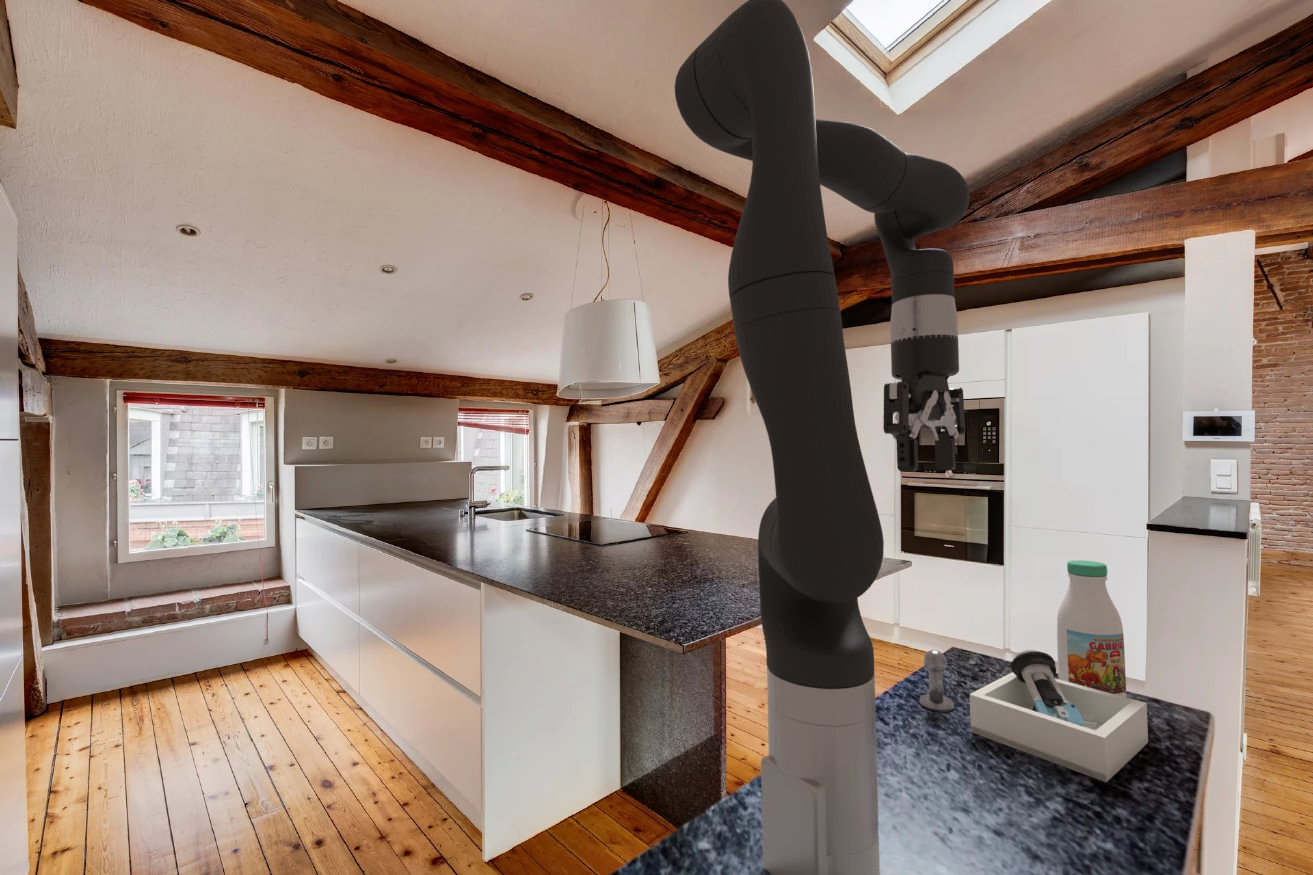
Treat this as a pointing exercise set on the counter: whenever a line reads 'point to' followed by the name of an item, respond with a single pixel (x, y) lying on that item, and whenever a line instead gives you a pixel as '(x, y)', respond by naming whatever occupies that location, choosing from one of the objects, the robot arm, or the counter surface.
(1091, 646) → the milk bottle
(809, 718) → the robot arm
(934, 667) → the ball stud post
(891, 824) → the counter surface
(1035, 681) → the push button
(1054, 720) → the bin
